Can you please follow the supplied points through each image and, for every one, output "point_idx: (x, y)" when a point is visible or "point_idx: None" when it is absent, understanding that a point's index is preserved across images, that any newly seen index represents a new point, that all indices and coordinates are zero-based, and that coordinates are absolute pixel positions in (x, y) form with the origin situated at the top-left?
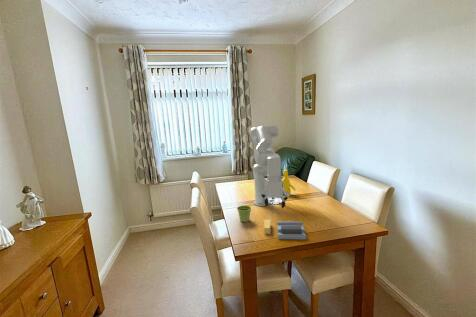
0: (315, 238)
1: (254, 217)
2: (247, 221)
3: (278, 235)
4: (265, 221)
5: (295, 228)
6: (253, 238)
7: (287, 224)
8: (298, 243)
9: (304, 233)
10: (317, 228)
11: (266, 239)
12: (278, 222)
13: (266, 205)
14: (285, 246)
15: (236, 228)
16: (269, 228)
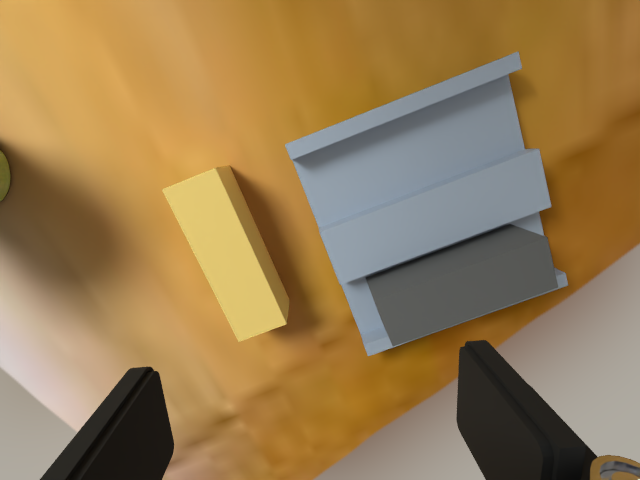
0: (606, 236)
1: (7, 65)
2: (7, 189)
3: (369, 351)
4: (192, 228)
5: (506, 294)
6: (207, 394)
7: (379, 125)
8: (500, 338)
9: (538, 224)
10: (627, 65)
11: (292, 373)
12: (301, 154)
13: (166, 462)
14: (429, 396)
15: (9, 325)
16: (280, 323)
